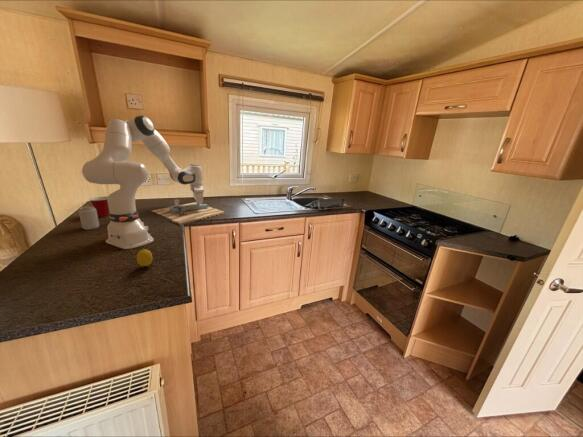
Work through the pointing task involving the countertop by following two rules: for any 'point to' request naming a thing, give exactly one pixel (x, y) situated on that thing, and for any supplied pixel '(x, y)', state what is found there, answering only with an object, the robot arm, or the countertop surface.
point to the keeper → (183, 209)
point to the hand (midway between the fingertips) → (198, 206)
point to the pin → (177, 203)
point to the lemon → (144, 257)
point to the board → (189, 214)
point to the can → (88, 217)
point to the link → (192, 207)
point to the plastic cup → (101, 206)
